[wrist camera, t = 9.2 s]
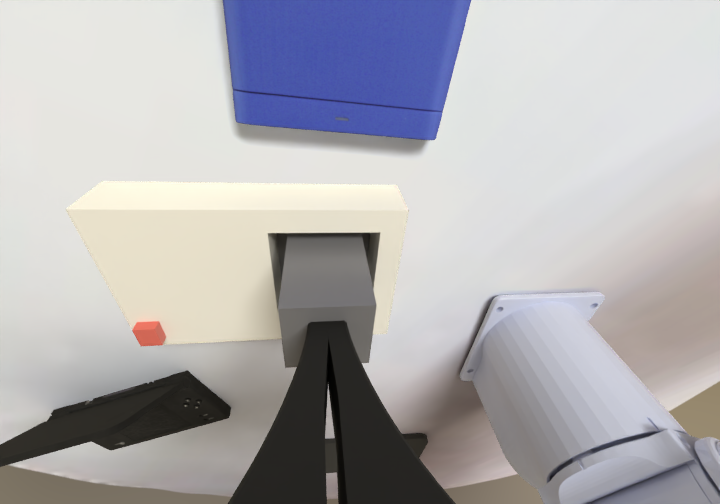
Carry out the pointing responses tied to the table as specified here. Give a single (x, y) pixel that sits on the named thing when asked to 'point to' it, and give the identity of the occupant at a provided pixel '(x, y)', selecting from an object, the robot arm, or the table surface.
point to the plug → (325, 290)
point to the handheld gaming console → (122, 418)
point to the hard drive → (344, 63)
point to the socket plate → (226, 250)
